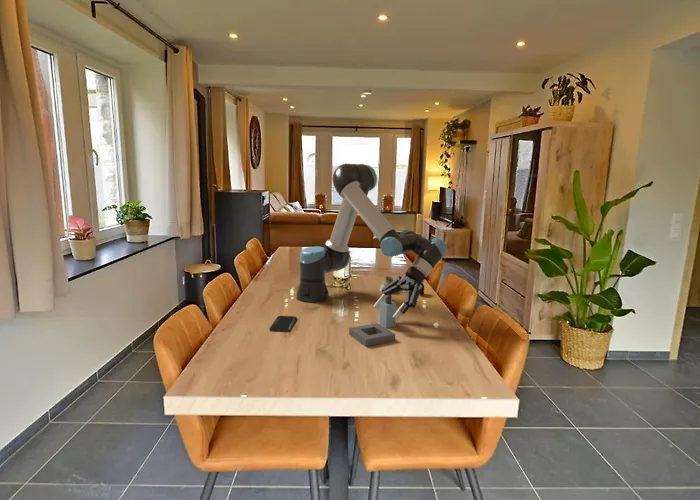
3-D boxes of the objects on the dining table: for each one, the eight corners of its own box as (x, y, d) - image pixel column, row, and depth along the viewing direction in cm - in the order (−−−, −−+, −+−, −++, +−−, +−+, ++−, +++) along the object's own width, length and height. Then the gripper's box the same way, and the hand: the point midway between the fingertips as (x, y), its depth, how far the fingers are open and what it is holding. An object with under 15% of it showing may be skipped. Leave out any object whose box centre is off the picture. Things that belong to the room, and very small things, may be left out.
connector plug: (379, 324, 166) (380, 294, 163) (389, 322, 168) (390, 293, 165) (385, 328, 162) (387, 297, 160) (395, 326, 164) (396, 296, 162)
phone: (297, 316, 171) (289, 330, 156) (297, 319, 171) (289, 333, 156) (278, 315, 171) (268, 329, 156) (278, 318, 171) (268, 331, 157)
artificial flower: (420, 300, 202) (417, 282, 199) (377, 298, 213) (374, 281, 210) (426, 291, 209) (423, 273, 206) (384, 289, 221) (381, 272, 217)
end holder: (349, 334, 155) (349, 328, 154) (377, 329, 160) (377, 323, 160) (365, 346, 144) (365, 339, 144) (394, 340, 150) (395, 333, 149)
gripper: (444, 285, 158) (409, 329, 154) (405, 270, 180) (373, 309, 175) (433, 272, 155) (398, 317, 150) (395, 259, 176) (363, 298, 172)
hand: (384, 313), depth 163 cm, fingers open, 13 cm apart
